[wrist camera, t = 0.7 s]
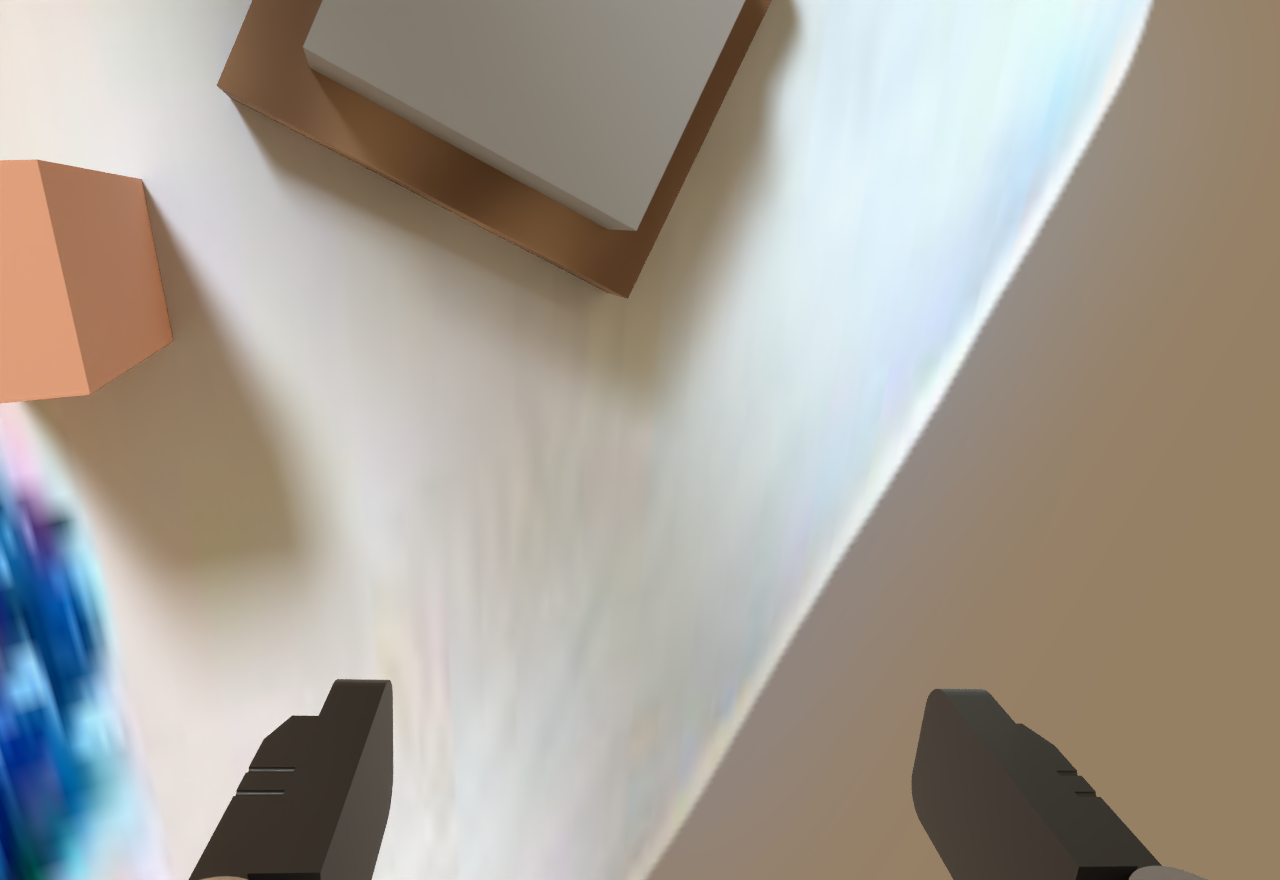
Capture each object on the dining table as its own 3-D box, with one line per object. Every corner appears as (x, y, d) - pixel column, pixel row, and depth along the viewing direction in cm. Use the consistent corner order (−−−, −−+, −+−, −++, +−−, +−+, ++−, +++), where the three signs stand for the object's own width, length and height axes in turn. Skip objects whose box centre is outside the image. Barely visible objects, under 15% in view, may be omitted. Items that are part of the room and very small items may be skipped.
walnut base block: (232, 99, 29) (217, 85, 26) (410, -321, 28) (417, -391, 25) (602, 290, 35) (627, 298, 32) (765, -50, 34) (808, -78, 30)
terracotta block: (-8, 355, 28) (-186, 421, 19) (-52, 185, 27) (-267, 166, 18) (173, 340, 30) (90, 394, 21) (141, 179, 28) (37, 160, 19)
